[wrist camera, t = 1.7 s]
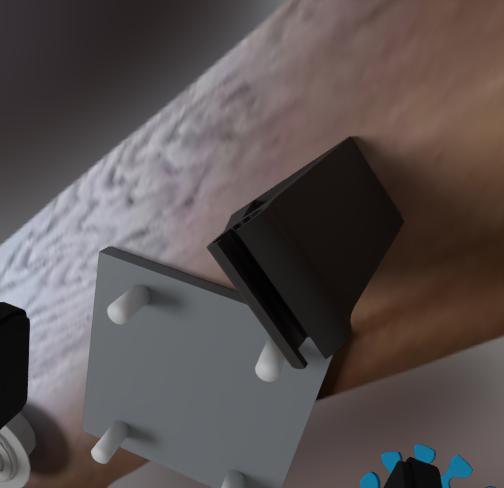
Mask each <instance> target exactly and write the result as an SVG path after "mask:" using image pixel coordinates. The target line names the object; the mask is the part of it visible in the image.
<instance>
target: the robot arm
mask: <svg viewBox="0 0 504 488" xmlns="http://www.w3.org/2000/svg"><path fill="white" fill-rule="evenodd" d="M29 336H30V320H29V318H27V316H26V312H25V310H23V309H21V308H18V307H15V306H13V305H10V304H8V303H5V302H0V430H1V429H2V428H3V427H4V426H5V425H6V424H7V423H8V422H9V421H11V420H12V419H13V418H14V417H15V416H16V415H17V414H18V413H19V412H20V411H21V410H22V409H23V407H24V405H25V403H26V401H27V394H28V365H29ZM384 488H443V487H442V482H441V477H440V472H439V469H438V468H437V467H435V466H433V465H431V464H428V463H425V462H423V461H420V460H417V459H415V458H412V457H409V458H408V459H407V460H406V462H403V461H400V460H399V461H398V462H397V463H396V465H395V467H394V469H393V471H392V472H391V474H390V477H389V478H388V480H387V482H386V484H385V486H384Z"/></svg>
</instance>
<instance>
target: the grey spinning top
mask: <svg viewBox="0 0 504 488" xmlns="http://www.w3.org/2000/svg"><path fill="white" fill-rule="evenodd" d="M35 447H36V444H35V433H34V431H33V429H32V427H31V426H30V424H29V422H28V421H27V420H26V419H25V418H24V417H23V416H22V414H21V413H20V412H19V413H18V414H17V415H16V416H15V417H14V418H13V419H12V420H11V421H9V422H8V423H7V424H6V425H5V426H4V427H3V428H2V429H1V430H0V488H22V487H23V486H25V484H26V483H27V482H28V480H29V477H30V472H31V466H30V460H29V457H28V456H29V454H30V453H31V452H32V451H33V449H34V448H35Z"/></svg>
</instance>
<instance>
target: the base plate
mask: <svg viewBox="0 0 504 488" xmlns="http://www.w3.org/2000/svg"><path fill="white" fill-rule="evenodd" d="M298 350H299V351H300V353H301V354H302V355H303V357H304V358H305V360H306V361H307V363H308V365H307V366H306V368H305V369H295V368H293V367H292V366H291V365H290V364H289V362H288V361H287V360H286V358H285V357H284V355H283V354H282V353H281V351H280V350H279V348H278V347H277V346H276V344H275V343H274V341H273V340H272V339H271V337H270V336H269V334H268V333H267V331H266V330H265V329H264V327H263V326H262V324H261V323H260V322H259V320H258V319H257V317H256V316H255V315H254V313H253V312H252V310H251V309H250V308H249V306H248V305H247V303H246V302H245V301H244V299H243V298H242V296H241V295H240V294H239V292H236V291H233V290H231V289H228V288H225V287H222V286H219V285H216V284H214V283H211V282H208V281H205V280H202V279H199V278H197V277H194V276H191V275H188V274H185V273H183V272H180V271H177V270H174V269H171V268H168V267H166V266H163V265H160V264H157V263H154V262H151V261H149V260H146V259H143V258H140V257H137V256H134V255H132V254H129V253H126V252H123V251H120V250H118V249H115V248H112V247H109V246H108V247H107V248H105V249H103V250H101V251H100V252H99V259H98V269H97V279H96V289H95V300H94V310H93V320H92V330H91V341H90V351H89V361H88V371H87V382H86V392H85V402H84V412H83V423H82V430H83V431H85V432H87V433H89V434H92V435H94V436H96V437H99V438H101V439H100V440H99V442H98V443H97V444H96V445H95V447H94V448H93V449H92V451H91V454H92V456H93V458H94V459H95V460H96V461H97V462H99V463H102V464H105V463H107V462H108V461H109V460H110V459H111V457H112V456H113V454H114V453H115V452H116V450H117V449H118V447H121V448H123V449H126V450H128V451H130V452H133V453H135V454H137V455H139V456H142V457H144V458H146V459H148V460H151V461H153V462H155V463H157V464H160V465H162V466H164V467H167V468H169V469H171V470H173V471H176V472H178V473H180V474H182V475H185V476H187V477H189V478H191V479H194V480H196V481H198V482H201V483H203V484H205V485H207V486H210V487H212V488H282V486H283V483H284V481H285V478H286V476H287V473H288V470H289V468H290V465H291V463H292V460H293V457H294V455H295V452H296V450H297V447H298V444H299V442H300V439H301V436H302V434H303V431H304V429H305V426H306V424H307V421H308V418H309V416H310V413H311V411H312V408H313V405H314V403H315V400H316V398H317V395H318V392H319V390H320V387H321V385H322V382H323V379H324V377H325V374H326V372H327V369H328V366H329V364H330V361H331V359H332V356H333V355H332V356H330V357H329V358H327V359H326V360H325V358H324V357H323V355H322V354H321V352H320V351H319V350H318V348H317V347H316V345H315V344H314V342H313V341H312V340H311V338H310V337H308V338H306V340H305V341H304V342H303V344H302V345H301V346H300V347H299V349H298Z"/></svg>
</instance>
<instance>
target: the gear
mask: <svg viewBox="0 0 504 488" xmlns="http://www.w3.org/2000/svg"><path fill="white" fill-rule="evenodd" d="M414 454H415V457H416V459H417V460H420V461H423V462H425V463H428V464H429V463H431V462H432V461H433V460H434V459H435V456H436V453H435V451H434V450H433V449H431V448H429V447H426V446H424V445H420V444H417V445H416V446H415V448H414ZM399 460H400V461H403V459H402V456H401V454H400V452H387V453H384V454H382V462H383V464H384V465H385V466H386V468H387V469H388V471H389V473H390V474H391V472H392V471H393V469H394V467H395V465H396V463H397V462H398V461H399ZM471 473H472V468H471V466H470V465H469V464H468V463H467V462H466V461H465V460H464V459H463V458H462V457H460V456H459V455H458V456H455V457H453V458H452V459H451V462H450V466H449V469H448V470H447V472H446V473H445V474H444V475H443V476H442V477H441V482H442V487H443V488H450V484H449V482H450V479H451V478H452V477H461V478H464V477H468V476H470V475H471ZM359 483H360V486H361V488H380V480H379V477H378V476H377V474H376V473H374V472H370V473H368V474H366V475H365V476H364V477H363V478H362V479H361V481H360V482H359ZM486 488H495V487H492V486H489V487H486Z"/></svg>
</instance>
